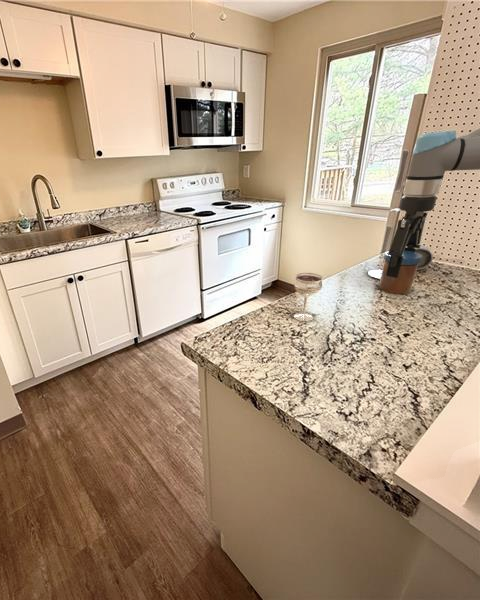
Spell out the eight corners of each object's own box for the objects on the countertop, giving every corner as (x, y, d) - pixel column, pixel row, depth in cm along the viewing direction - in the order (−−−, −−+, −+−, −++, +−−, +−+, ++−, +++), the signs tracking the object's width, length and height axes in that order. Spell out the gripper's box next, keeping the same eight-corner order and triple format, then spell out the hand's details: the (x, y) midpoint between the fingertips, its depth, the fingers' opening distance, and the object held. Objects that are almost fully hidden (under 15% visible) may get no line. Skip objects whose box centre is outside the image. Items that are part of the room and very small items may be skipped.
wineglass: (296, 323, 84) (302, 283, 78) (285, 312, 90) (290, 273, 85) (322, 321, 83) (329, 280, 78) (309, 310, 90) (314, 271, 85)
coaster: (411, 277, 102) (412, 276, 102) (387, 283, 101) (387, 282, 100) (383, 268, 111) (384, 267, 111) (360, 273, 110) (360, 272, 109)
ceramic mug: (427, 263, 112) (433, 242, 108) (429, 271, 106) (435, 249, 102) (390, 261, 117) (394, 241, 114) (390, 268, 112) (395, 247, 108)
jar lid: (403, 254, 97) (404, 248, 96) (428, 262, 89) (430, 256, 88) (376, 257, 97) (378, 252, 96) (400, 266, 89) (401, 260, 88)
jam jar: (417, 291, 94) (427, 257, 89) (396, 295, 92) (405, 262, 88) (392, 282, 101) (400, 251, 97) (372, 286, 100) (379, 255, 95)
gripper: (417, 189, 93) (397, 260, 103) (386, 200, 82) (368, 278, 92) (450, 190, 87) (426, 265, 97) (421, 202, 77) (398, 285, 86)
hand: (398, 272), depth 94 cm, fingers closed on jar lid, 9 cm apart
